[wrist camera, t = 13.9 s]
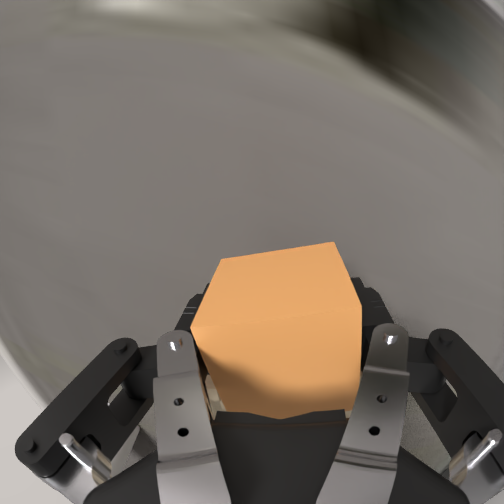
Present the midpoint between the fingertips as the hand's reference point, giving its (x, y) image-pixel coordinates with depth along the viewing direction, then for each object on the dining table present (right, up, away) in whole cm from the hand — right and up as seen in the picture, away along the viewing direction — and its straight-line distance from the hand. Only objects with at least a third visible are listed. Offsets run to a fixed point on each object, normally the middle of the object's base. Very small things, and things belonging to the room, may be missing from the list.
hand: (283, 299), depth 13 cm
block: (0, 0, +1) cm, 1 cm away
